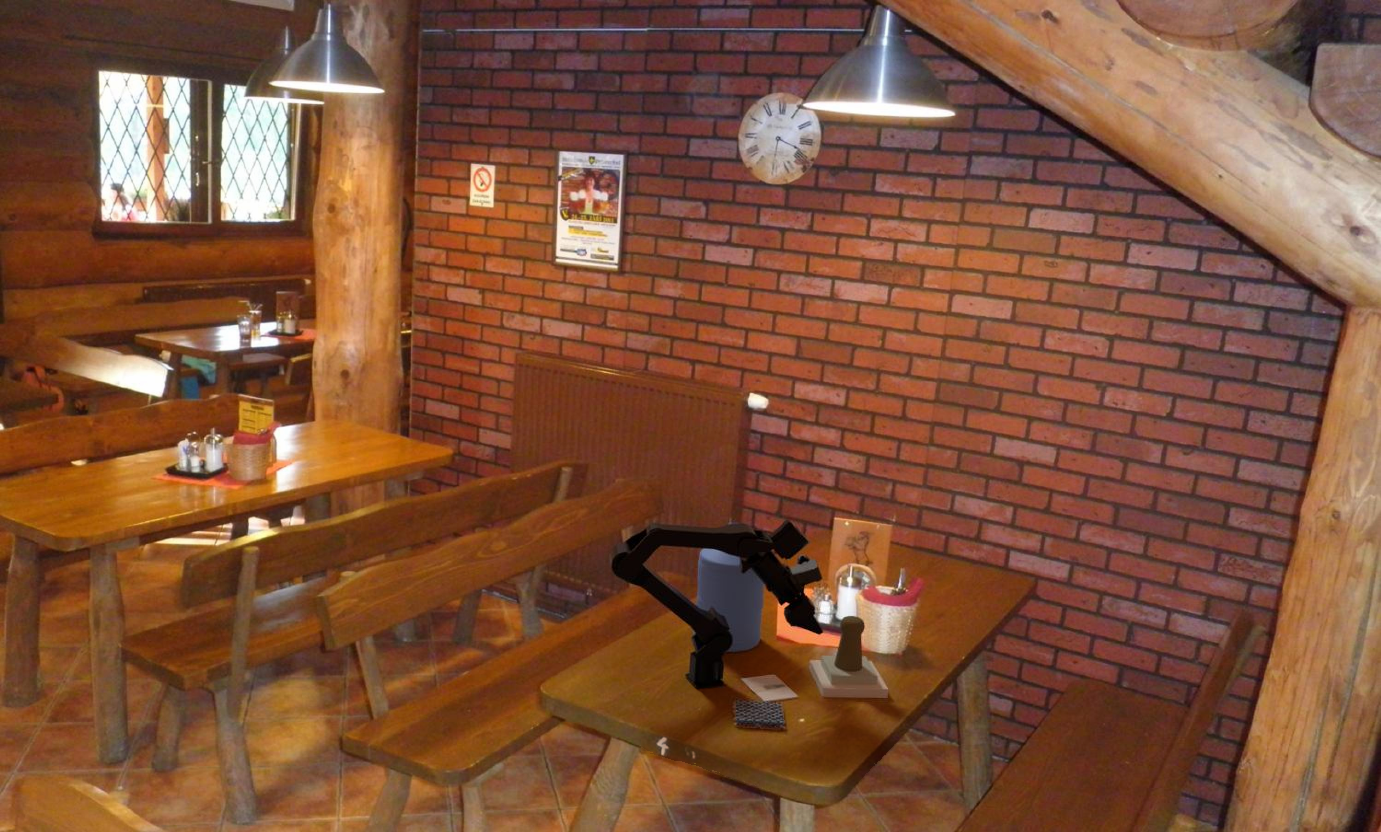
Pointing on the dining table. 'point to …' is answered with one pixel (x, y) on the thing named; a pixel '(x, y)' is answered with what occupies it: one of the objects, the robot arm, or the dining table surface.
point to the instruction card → (769, 688)
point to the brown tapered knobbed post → (850, 644)
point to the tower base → (847, 688)
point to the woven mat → (759, 715)
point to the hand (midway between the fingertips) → (817, 623)
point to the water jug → (731, 596)
